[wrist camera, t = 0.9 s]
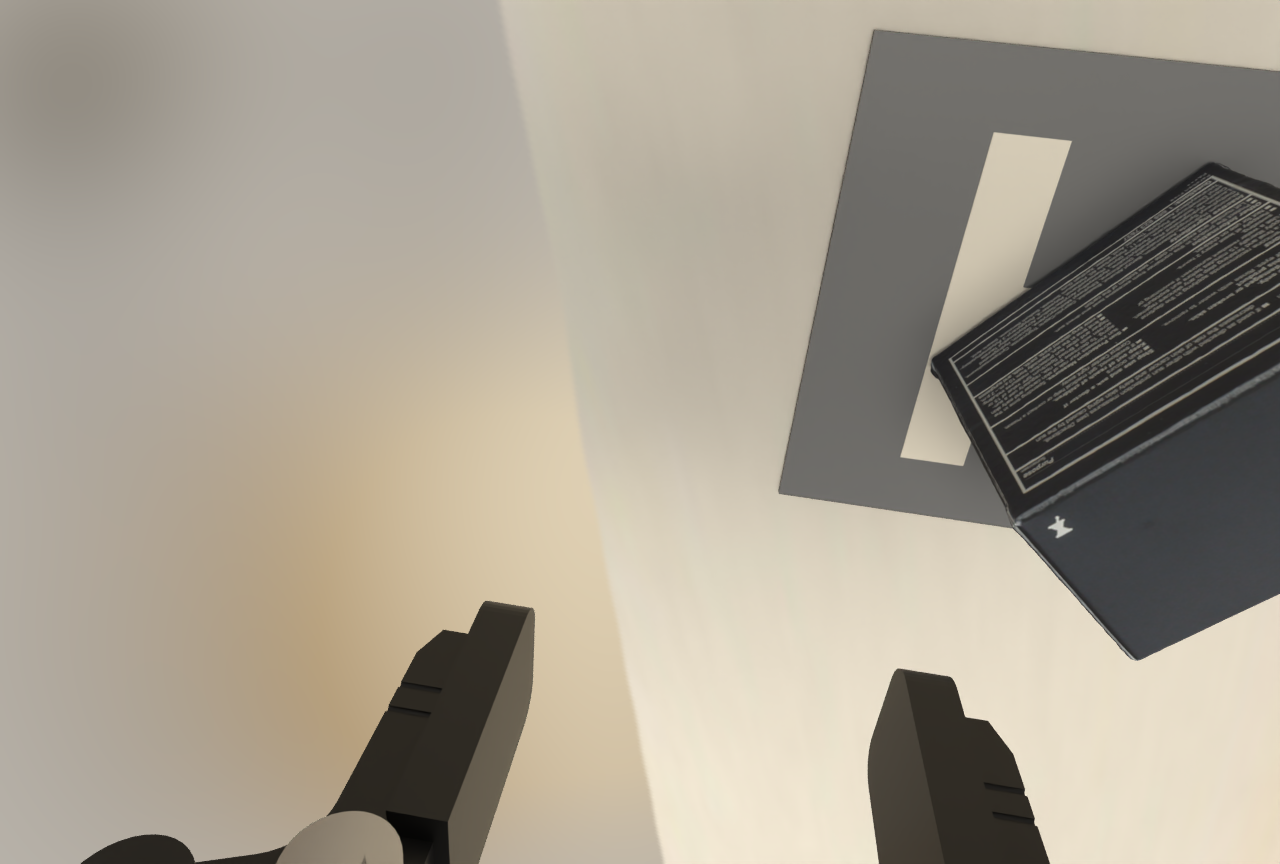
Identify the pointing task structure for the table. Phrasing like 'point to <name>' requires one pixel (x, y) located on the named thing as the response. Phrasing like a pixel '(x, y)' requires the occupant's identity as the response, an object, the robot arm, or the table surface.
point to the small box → (1143, 412)
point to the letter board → (983, 234)
